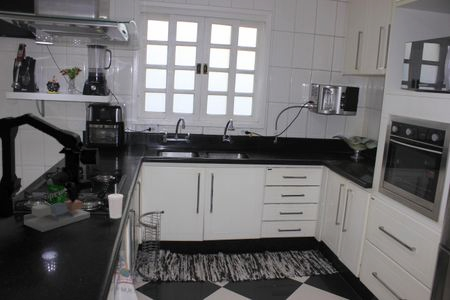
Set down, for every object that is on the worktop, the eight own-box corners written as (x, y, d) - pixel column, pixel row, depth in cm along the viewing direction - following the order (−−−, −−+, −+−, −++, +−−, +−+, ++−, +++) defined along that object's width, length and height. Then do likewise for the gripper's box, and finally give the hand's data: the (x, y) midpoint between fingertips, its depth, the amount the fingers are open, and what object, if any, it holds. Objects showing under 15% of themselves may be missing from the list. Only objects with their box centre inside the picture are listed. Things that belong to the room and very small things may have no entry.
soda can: (44, 204, 177) (43, 178, 175) (61, 201, 182) (60, 176, 180) (52, 209, 172) (51, 182, 170) (68, 205, 177) (68, 179, 175)
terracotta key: (64, 208, 163) (64, 201, 163) (74, 205, 167) (74, 199, 167) (71, 211, 161) (71, 204, 160) (81, 208, 165) (81, 201, 164)
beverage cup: (107, 219, 163) (107, 186, 161) (108, 214, 169) (108, 182, 166) (123, 218, 165) (123, 185, 162) (123, 213, 171) (123, 182, 168)
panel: (24, 224, 153) (23, 215, 153) (71, 210, 171) (71, 203, 170) (42, 232, 147) (42, 222, 146) (89, 217, 164) (89, 209, 164)
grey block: (31, 214, 152) (31, 206, 151) (43, 211, 155) (43, 204, 155) (39, 217, 149) (39, 209, 148) (51, 214, 153) (50, 206, 152)
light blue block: (48, 212, 157) (48, 205, 157) (59, 209, 161) (59, 202, 161) (56, 215, 155) (56, 207, 154) (67, 212, 159) (66, 204, 158)
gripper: (40, 163, 159) (41, 201, 162) (69, 171, 149) (70, 211, 152) (64, 159, 168) (65, 195, 171) (93, 167, 158) (94, 204, 161)
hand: (72, 201), depth 164 cm, fingers closed, pressing on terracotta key
